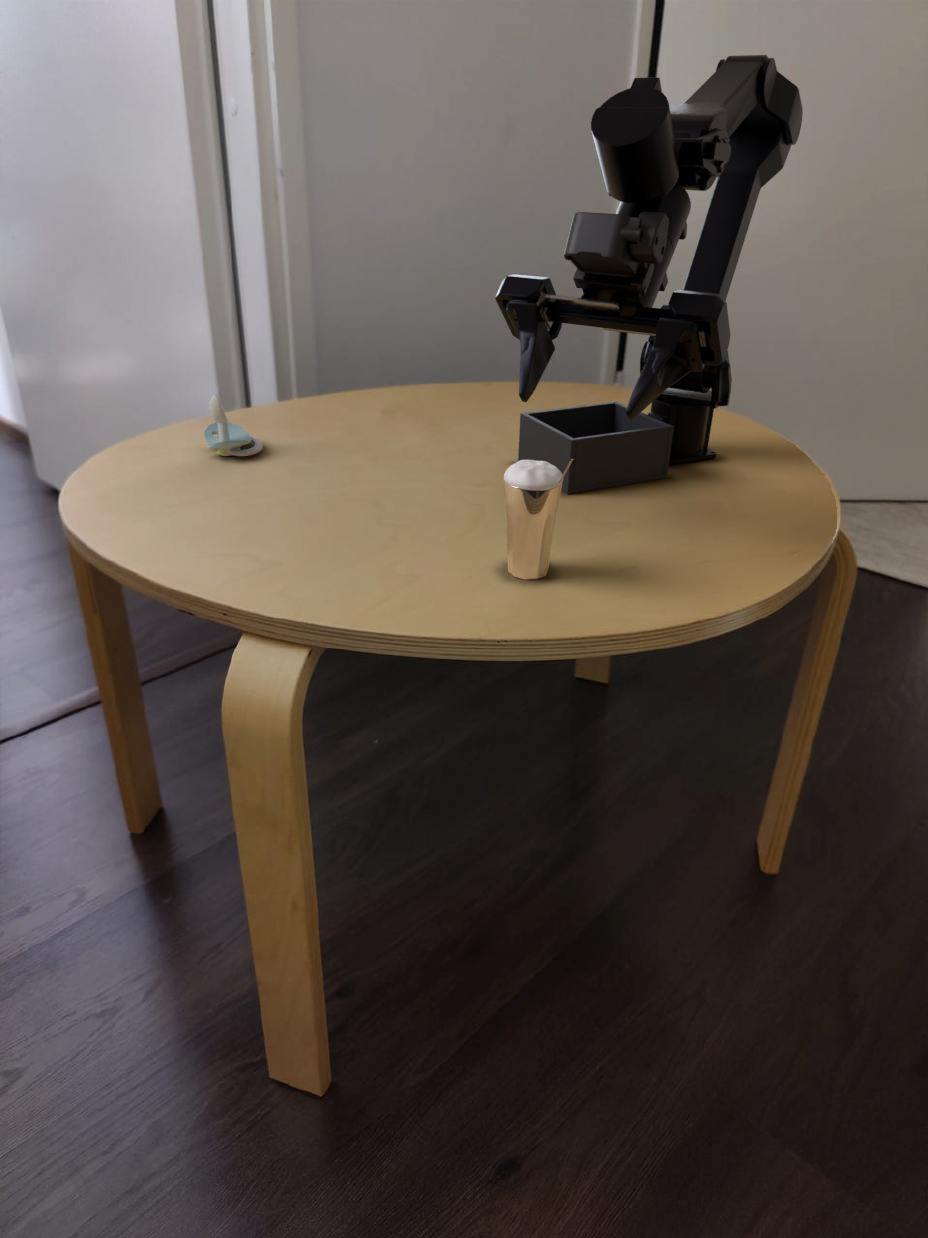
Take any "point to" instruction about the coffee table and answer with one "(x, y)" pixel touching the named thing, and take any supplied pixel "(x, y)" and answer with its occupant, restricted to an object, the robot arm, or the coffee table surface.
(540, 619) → the coffee table surface
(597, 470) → the bin
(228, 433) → the pacifier
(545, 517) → the milkshake
